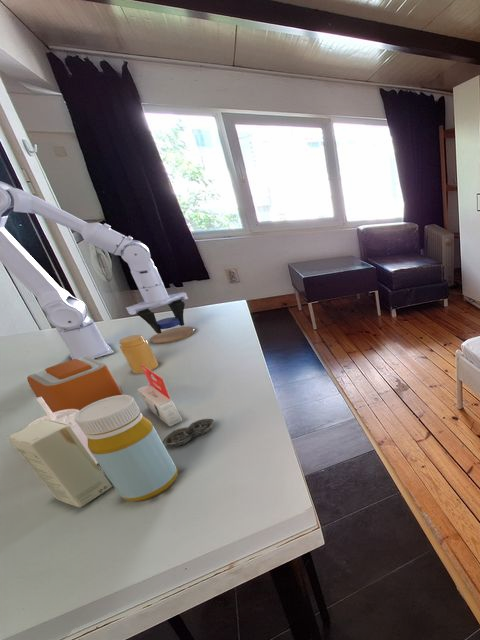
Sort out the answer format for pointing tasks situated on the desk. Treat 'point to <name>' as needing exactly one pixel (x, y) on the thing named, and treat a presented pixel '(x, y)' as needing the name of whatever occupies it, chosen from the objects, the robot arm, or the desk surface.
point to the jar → (138, 353)
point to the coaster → (172, 335)
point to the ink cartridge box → (159, 399)
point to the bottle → (127, 447)
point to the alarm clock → (74, 384)
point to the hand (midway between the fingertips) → (170, 328)
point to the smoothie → (65, 418)
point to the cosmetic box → (60, 462)
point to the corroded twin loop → (188, 432)
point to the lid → (168, 322)
